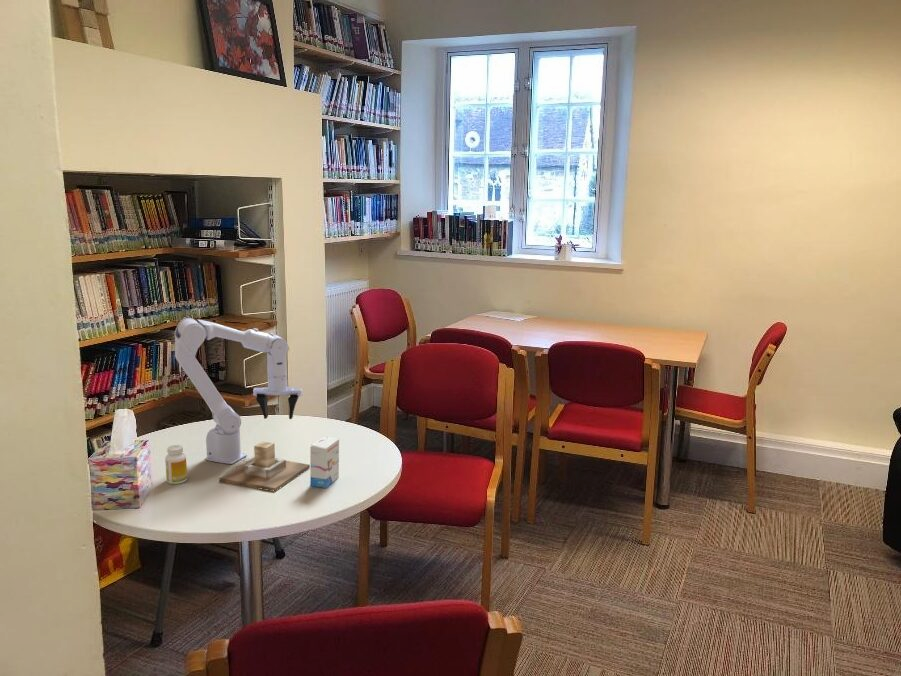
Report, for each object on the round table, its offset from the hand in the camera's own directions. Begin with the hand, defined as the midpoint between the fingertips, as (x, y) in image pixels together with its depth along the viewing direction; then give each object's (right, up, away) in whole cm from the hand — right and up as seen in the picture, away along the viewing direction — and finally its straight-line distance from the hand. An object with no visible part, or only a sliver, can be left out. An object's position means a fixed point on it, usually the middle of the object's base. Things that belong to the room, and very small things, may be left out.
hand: (278, 417), depth 226 cm
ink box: (+18, -16, -21) cm, 31 cm away
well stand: (0, -14, -17) cm, 22 cm away
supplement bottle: (-23, -15, -22) cm, 35 cm away
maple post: (0, -13, -17) cm, 22 cm away
